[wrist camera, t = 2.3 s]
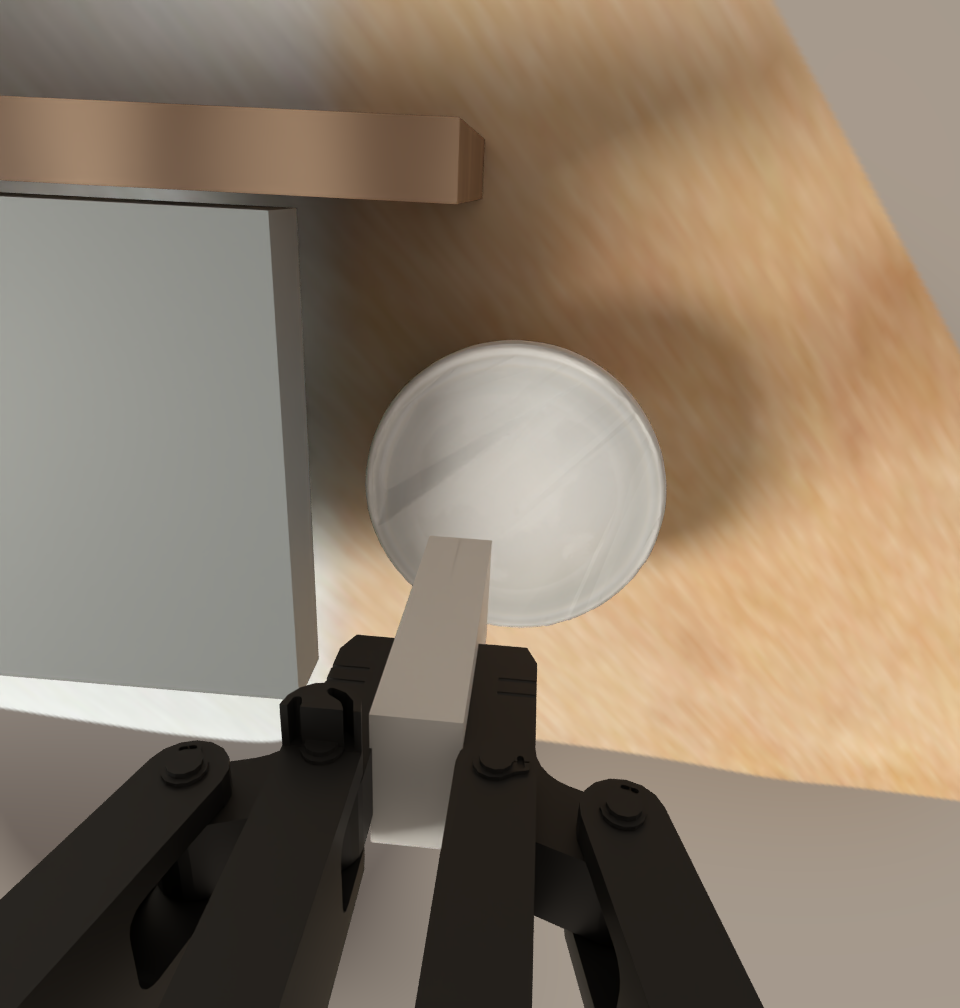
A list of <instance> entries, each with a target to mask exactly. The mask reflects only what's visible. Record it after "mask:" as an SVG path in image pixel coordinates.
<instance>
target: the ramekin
mask: <svg viewBox="0 0 960 1008" xmlns="http://www.w3.org/2000/svg"><path fill="white" fill-rule="evenodd" d="M365 486H366V498H367V505H368V511H369V514H370V518H371V522H372V524H373V527H374V530H375V533H376V535H377V537H378V540H379V542H380V544H381V546H382V547H383V549H384V551H385V553H386V554H387V556H388V558H389V559H390V561H391V562H392V563H393V565H394V566H395V568H396V569H397V570H398V571H399V572H400V573H401V574H402V576H403V577H404V578H405V579H406V580H407V581H408V582H409V583H410V584H411V585H412V586H413V583H414V580H415V577H416V574H417V571H418V569H419V566H420V563H421V560H422V557H423V554H424V551H425V548H426V545H427V542H428V539H429V536H441V537H454V538H466V539H479V540H492V550H491V566H490V583H489V600H488V617H487V624H490V625H495V626H505V627H521V628H522V627H538V626H549V625H553V624H556V623H559V622H562V621H566V620H570V619H572V618H575V617H578V616H580V615H582V614H584V613H586V612H588V611H590V610H592V609H595V608H597V607H598V606H600V605H602V604H603V603H605V602H606V601H608V600H609V599H610V598H612V597H613V596H614V595H615V594H617V593H618V592H619V591H620V590H622V589H623V588H624V587H625V586H626V585H627V584H628V583H629V582H630V581H631V580H632V579H633V577H634V576H635V575H636V574H637V572H638V571H639V569H640V568H641V567H642V565H643V564H644V563H645V562H646V560H647V559H648V557H649V555H650V553H651V551H652V549H653V547H654V545H655V542H656V540H657V537H658V534H659V531H660V528H661V524H662V520H663V517H664V512H665V506H666V474H665V467H664V460H663V456H662V452H661V449H660V446H659V443H658V440H657V437H656V435H655V432H654V430H653V428H652V426H651V424H650V422H649V420H648V418H647V416H646V414H645V413H644V411H643V410H642V408H641V407H640V405H639V404H638V402H637V401H636V400H635V398H634V397H633V396H632V395H631V393H630V392H629V391H628V390H627V389H626V388H625V387H624V386H623V385H622V384H621V383H620V382H619V381H618V380H617V379H616V378H615V377H614V376H612V375H611V374H610V373H609V372H607V371H606V370H604V369H603V368H602V367H600V366H599V365H597V364H596V363H594V362H593V361H591V360H589V359H587V358H586V357H584V356H581V355H579V354H577V353H575V352H573V351H570V350H568V349H565V348H562V347H558V346H555V345H551V344H546V343H542V342H534V341H525V340H501V341H493V342H487V343H481V344H477V345H473V346H470V347H466V348H464V349H461V350H458V351H456V352H454V353H451V354H449V355H447V356H445V357H443V358H441V359H439V360H438V361H436V362H434V363H433V364H431V365H430V366H428V367H427V368H425V369H424V370H423V371H421V372H420V373H419V374H417V375H416V376H415V377H414V378H413V379H411V380H410V381H409V382H408V383H407V384H406V385H405V386H404V387H403V388H402V389H401V391H400V392H399V393H398V394H397V395H396V397H395V398H394V399H393V401H392V402H391V404H390V405H389V407H388V408H387V410H386V411H385V413H384V415H383V417H382V419H381V421H380V423H379V425H378V427H377V429H376V432H375V434H374V437H373V440H372V443H371V446H370V450H369V455H368V460H367V467H366V482H365Z"/></svg>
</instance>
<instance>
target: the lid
mask: <svg viewBox="0 0 960 1008" xmlns="http://www.w3.org/2000/svg"><path fill="white" fill-rule="evenodd" d="M318 659H319V656H318V635H317V615H316V595H315V574H314V554H313V534H312V513H311V493H310V472H309V452H308V432H307V411H306V391H305V371H304V350H303V330H302V309H301V289H300V269H299V248H298V228H297V208H285V207H267V206H248V205H229V204H210V203H191V202H172V201H153V200H135V199H116V198H97V197H78V196H59V195H40V194H22V193H3V192H0V675H3V676H15V677H26V678H38V679H50V680H62V681H74V682H85V683H97V684H109V685H121V686H133V687H144V688H156V689H168V690H180V691H192V692H203V693H215V694H227V695H239V696H251V697H262V698H274V699H284V698H285V697H286V696H287V695H288V694H290V693H291V692H293V691H295V690H297V689H298V688H300V687H303V686H306V685H307V683H308V681H309V679H310V676H311V674H312V672H313V670H314V668H315V666H316V663H317V661H318Z"/></svg>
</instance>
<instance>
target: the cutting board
mask: <svg viewBox="0 0 960 1008" xmlns="http://www.w3.org/2000/svg"><path fill="white" fill-rule="evenodd" d="M484 144H485V140H484V139H483V138H482V137H481V136H480V135H479V134H478V133H477V132H476V131H475V130H473V129H472V128H471V127H470V126H469V125H468V124H467V123H466V122H465V121H463V120H462V119H461V118H460V117H445V116H424V115H403V114H381V113H360V112H338V111H317V110H296V109H274V108H253V107H231V106H210V105H189V104H167V103H146V102H124V101H103V100H81V99H60V98H39V97H17V96H0V180H5V181H24V182H43V183H63V184H82V185H101V186H120V187H139V188H158V189H177V190H197V191H216V192H235V193H254V194H273V195H292V196H311V197H330V198H350V199H369V200H388V201H407V202H426V203H445V204H460V203H464V202H469V201H474V200H478V199H482V189H483V166H484Z"/></svg>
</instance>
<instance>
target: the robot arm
mask: <svg viewBox="0 0 960 1008" xmlns="http://www.w3.org/2000/svg"><path fill="white" fill-rule="evenodd" d="M491 550H492V540H479V539H466V538H454V537H441V536H429V539H428V542H427V545H426V548H425V551H424V554H423V557H422V560H421V563H420V566H419V569H418V571H417V574H416V577H415V580H414V583H413V586H412V589H411V592H410V595H409V598H408V601H407V604H406V607H405V610H404V613H403V616H402V619H401V621H400V624H399V627H398V630H397V633H396V636H395V638H388V637H377V636H365V635H356V636H355V637H353V638H352V639H351V640H350V641H348V642H347V643H346V644H345V645H344V646H342V647H341V648H340V650H339V652H338V655H337V657H336V659H335V661H334V663H333V668H331V670H330V672H329V674H328V677H327V681H325V683H314V684H311V685H307V686H303V687H300V688H298V689H297V690H295V691H293V692H291V693H290V694H288V695H287V696H286V697H285V698H284V700H283V701H282V702H281V703H280V704H279V705H280V719H281V732H282V747H281V749H280V751H278V752H275V753H272V754H270V755H266V756H262V757H258V758H251V759H246V760H238V761H231V762H230V759H229V756H228V755H227V753H226V752H225V750H224V749H223V748H222V747H220V746H218V745H216V744H214V743H212V742H205V741H198V740H197V741H190V742H182V743H179V744H176V745H173V746H171V747H168V748H166V749H164V750H162V751H161V752H159V753H158V754H156V755H155V756H154V757H152V758H151V759H150V760H149V761H147V763H145V764H144V765H143V766H142V767H141V768H140V769H139V770H138V771H137V772H136V773H135V774H134V775H133V776H132V777H130V779H128V780H127V781H126V782H125V783H124V784H123V785H122V786H121V787H120V788H119V789H118V790H117V791H116V792H114V794H112V795H111V796H110V797H109V798H108V799H107V800H106V801H105V802H104V803H103V804H102V805H101V806H100V807H98V809H96V810H95V811H94V812H93V813H92V814H91V815H90V816H89V817H88V818H87V819H86V820H85V821H84V822H82V824H80V825H79V826H78V827H77V828H76V829H75V830H74V831H73V832H72V833H71V834H70V835H69V836H68V837H67V838H65V840H63V841H62V842H61V843H60V844H59V845H58V846H57V847H56V848H55V849H54V850H53V851H52V852H51V853H49V854H48V855H47V856H46V857H45V858H44V859H43V860H42V861H41V862H40V863H39V864H38V865H37V866H36V867H35V868H33V869H32V870H31V871H30V872H29V873H28V874H27V875H26V876H25V877H24V878H23V879H22V880H21V881H20V882H19V883H18V884H16V885H15V886H14V887H13V888H12V889H11V890H10V891H9V892H8V893H7V894H6V895H5V896H4V897H3V898H2V899H0V1008H328V1004H329V1000H330V996H331V992H332V989H333V985H334V981H335V978H336V974H337V970H338V966H339V963H340V959H341V955H342V951H343V947H344V944H345V940H346V936H347V933H348V929H349V925H350V921H351V917H352V914H353V910H354V906H355V902H356V899H357V895H358V891H359V887H360V884H361V880H362V876H363V872H364V860H365V850H364V844H365V841H366V838H367V834H368V830H369V827H370V823H371V842H376V843H385V844H395V845H405V846H414V847H424V848H434V849H441V852H440V858H439V864H438V870H437V876H436V882H435V888H434V894H433V900H432V906H431V913H430V919H429V925H428V931H427V937H426V943H425V949H424V955H423V961H422V967H421V974H420V979H419V986H418V992H417V999H416V1004H415V1008H532V980H533V932H534V930H533V929H534V916H536V917H539V918H541V919H544V920H546V921H548V922H550V923H552V924H555V925H557V926H560V927H561V928H564V933H565V939H566V942H567V946H568V950H569V953H570V957H571V961H572V964H573V968H574V971H575V975H576V979H577V982H578V986H579V990H580V993H581V996H582V1000H583V1004H584V1008H764V1007H763V1005H762V1003H761V1001H760V999H759V997H758V995H757V993H756V991H755V989H754V987H753V985H752V983H751V981H750V979H749V977H748V975H747V973H746V971H745V969H744V967H743V965H742V963H741V961H740V959H739V957H738V955H737V953H736V951H735V949H734V947H733V945H732V942H731V940H730V938H729V936H728V934H727V932H726V930H725V928H724V926H723V924H722V922H721V920H720V918H719V916H718V914H717V912H716V910H715V908H714V906H713V904H712V902H711V900H710V898H709V896H708V894H707V892H706V890H705V888H704V886H703V884H702V882H701V880H700V878H699V876H698V874H697V872H696V870H695V868H694V866H693V864H692V861H691V859H690V857H689V856H688V853H687V852H686V849H685V847H684V845H683V843H682V841H681V839H680V837H679V835H678V833H677V831H676V829H675V827H674V825H673V823H672V821H671V819H670V817H669V815H668V813H667V811H666V809H665V807H664V806H663V804H662V803H661V802H660V800H659V799H658V798H657V796H656V795H655V794H653V793H652V792H650V791H649V790H648V789H646V788H645V787H643V786H642V785H639V784H636V783H633V782H630V781H628V780H620V779H607V780H603V781H599V782H595V783H594V784H592V785H591V786H590V787H588V788H587V789H586V790H585V791H584V792H583V791H580V790H578V789H575V788H572V787H569V786H567V785H565V784H563V783H561V782H559V781H557V780H556V779H554V778H553V777H551V776H550V775H549V774H548V773H547V772H546V771H545V770H544V769H543V768H542V767H541V765H540V763H539V761H538V759H537V757H536V750H535V740H536V691H537V663H536V661H535V660H534V658H533V657H532V655H531V653H530V652H529V650H528V648H522V647H511V646H499V645H488V644H485V643H486V634H487V617H488V600H489V583H490V566H491Z"/></svg>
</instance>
